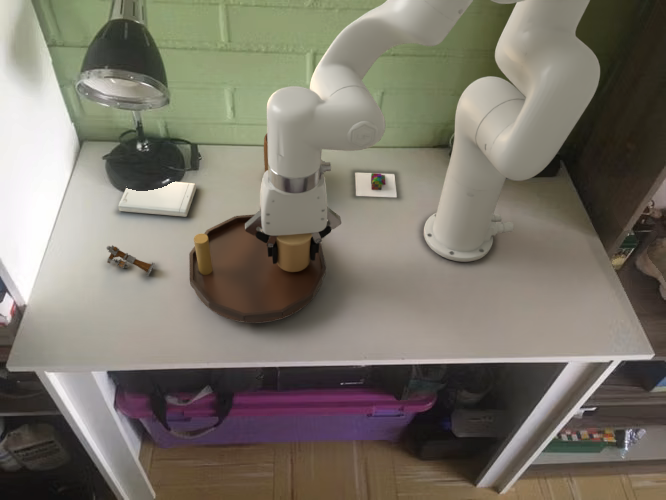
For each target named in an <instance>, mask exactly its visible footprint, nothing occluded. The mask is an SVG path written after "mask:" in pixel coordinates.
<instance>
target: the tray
mask: <svg viewBox="0 0 666 500" xmlns="http://www.w3.org/2000/svg"><path fill="white" fill-rule="evenodd" d="M255 214H256V213H255ZM255 214H241V215H234V216H232V217H230V218H228V219H226V220H224V221H222V222H219V223H218V224H216V225H214V226H212V227H210V228H208V229H206V230H205V232H204V233H201V232H200V233H197V234H195V236H194V237H193V243H194V245H193V248H191V250H190V251H189V254H188V255H189V257H188V260H189V262H188V263H189V264H188V265H189V266H188V267H189V285H190V287H191V288H192V289H193V290H194V292H195V294H196V296H197V297H198V299H199V301H201V303H203V305H205V307H206V308H208V309H209V310H211V311H212V312H213V313H215V314H217V315H219V316H221V317H224V318H226V319H229V320H231V321H236V322H241V323H247V324H249V323H250V324H259V323H269V322H275V321H278V320H282V319H284V318H287V317H290V316H292V315H294V314H295V313H297V312H299V311H300V310H302V309H303V308H305V307H306V306H307V305H308V304H310V303H311V301H312V300H313V299H314V298H315V297H316V296H317V294H318V292H319V290H320V289H321V287H322V283H323V280H324V277H325V275H326V274H327V273H326V272H327V265H326V261H325V256H324V251H323V246H322V242H321V243H319V253H316V255H315V260H313V261H312V260H311V259H310V262H309V264H308V266H307V267H306V268H305V269H303V270H301V271H298V272H288V271H285V270H283V269H281V268H280V267H279V266H278V264H277V263H276V264H273V260H272V257H268V252H267V246H266V243H264V242H262V241H261V240H259V239H257V238H256V236H255V235H254V236H253V235H252V234H250V233H248V232H246V231H245V223H246V222H247V221H248V220H249V219H251V218H252V217H253V216H254V215H255ZM259 226H260V227H262V224H260V225H259Z"/></svg>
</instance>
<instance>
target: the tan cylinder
mask: <svg viewBox="0 0 666 500" xmlns="http://www.w3.org/2000/svg"><path fill="white" fill-rule="evenodd" d="M311 237H312V234H311V233H304V234H292V235H278V237H277V239H276V243H277V264H278V266H279V267H280V268H281V269H283V270H285V271H288V272H298V271H301V270H303V269H305V268H306V267H307V266H308V264H309V262H310V245H311Z"/></svg>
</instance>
